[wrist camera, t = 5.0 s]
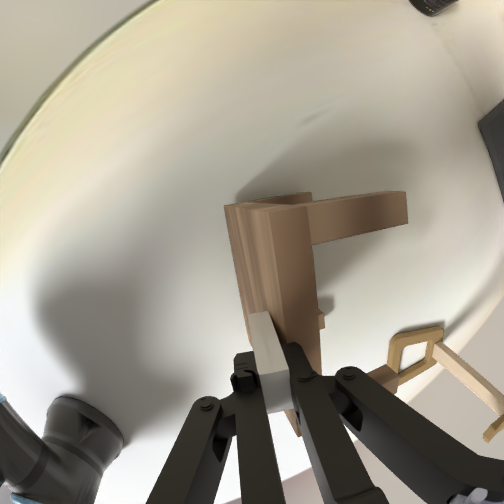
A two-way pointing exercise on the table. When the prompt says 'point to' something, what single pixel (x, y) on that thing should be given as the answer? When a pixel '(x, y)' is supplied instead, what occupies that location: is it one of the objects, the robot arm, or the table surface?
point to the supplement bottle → (432, 6)
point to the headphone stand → (452, 363)
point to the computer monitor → (495, 140)
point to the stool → (301, 260)
